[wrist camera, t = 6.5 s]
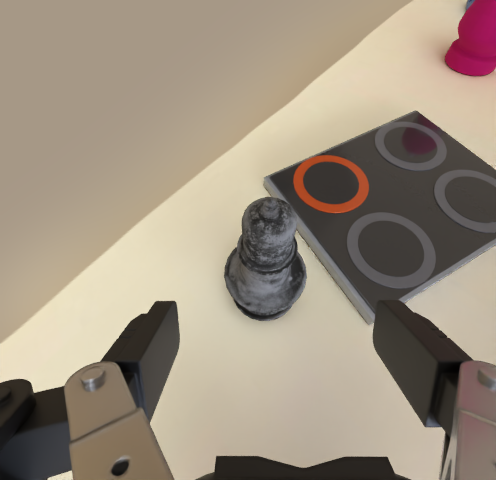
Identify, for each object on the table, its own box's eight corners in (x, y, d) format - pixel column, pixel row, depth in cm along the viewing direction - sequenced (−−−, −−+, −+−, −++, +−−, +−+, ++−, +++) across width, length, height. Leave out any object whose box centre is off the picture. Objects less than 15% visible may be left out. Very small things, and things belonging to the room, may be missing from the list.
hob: (410, 119, 33) (417, 106, 32) (537, 217, 26) (554, 207, 25) (263, 185, 29) (263, 174, 27) (368, 325, 22) (376, 320, 20)
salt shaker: (214, 282, 24) (182, 190, 13) (269, 244, 25) (279, 136, 15) (257, 340, 21) (260, 286, 11) (314, 294, 23) (365, 208, 12)
